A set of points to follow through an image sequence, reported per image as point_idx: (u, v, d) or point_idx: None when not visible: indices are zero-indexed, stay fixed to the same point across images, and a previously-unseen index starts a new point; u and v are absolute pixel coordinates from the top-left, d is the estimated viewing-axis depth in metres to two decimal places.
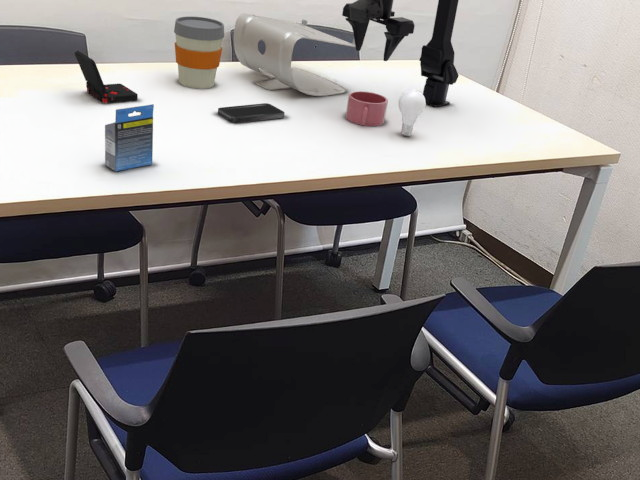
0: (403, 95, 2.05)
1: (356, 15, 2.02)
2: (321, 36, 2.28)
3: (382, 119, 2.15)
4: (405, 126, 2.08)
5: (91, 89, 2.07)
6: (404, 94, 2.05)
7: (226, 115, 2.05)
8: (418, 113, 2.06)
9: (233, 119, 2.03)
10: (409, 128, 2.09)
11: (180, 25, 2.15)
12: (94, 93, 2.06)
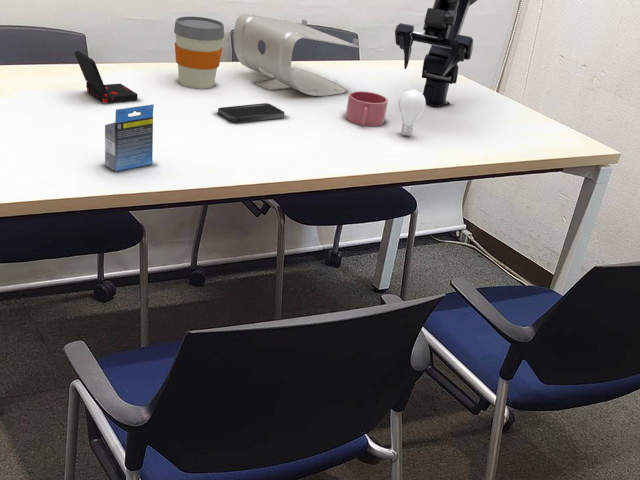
0: (403, 95, 2.05)
1: (436, 16, 2.04)
2: (321, 36, 2.28)
3: (382, 119, 2.15)
4: (405, 126, 2.08)
5: (91, 89, 2.07)
6: (404, 94, 2.05)
7: (226, 115, 2.05)
8: (418, 113, 2.06)
9: (233, 119, 2.03)
10: (409, 128, 2.09)
11: (180, 25, 2.15)
12: (94, 93, 2.06)
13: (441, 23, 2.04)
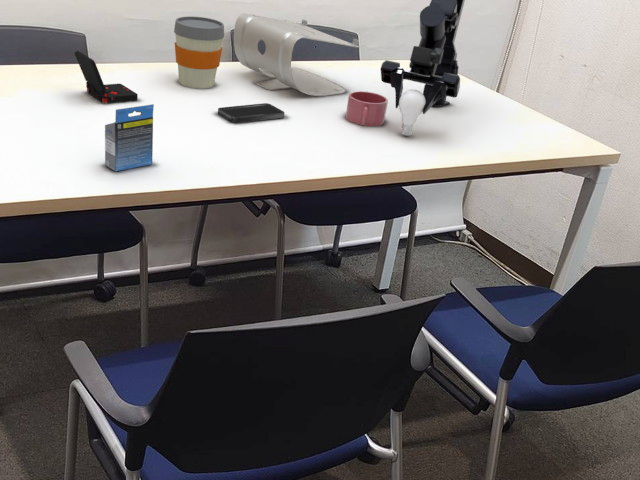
0: (403, 95, 2.05)
1: (422, 54, 2.00)
2: (321, 36, 2.28)
3: (382, 119, 2.15)
4: (405, 126, 2.08)
5: (91, 89, 2.07)
6: (404, 94, 2.05)
7: (226, 115, 2.05)
8: (418, 113, 2.06)
9: (233, 119, 2.03)
10: (409, 128, 2.09)
11: (180, 25, 2.15)
12: (94, 93, 2.06)
13: (427, 61, 2.00)
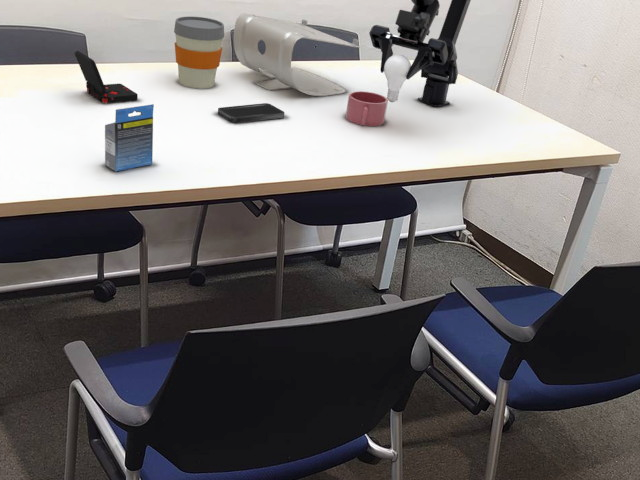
0: (388, 59, 2.04)
1: (407, 18, 1.99)
2: (321, 36, 2.28)
3: (382, 119, 2.15)
4: (390, 91, 2.08)
5: (91, 89, 2.07)
6: (389, 58, 2.04)
7: (226, 115, 2.05)
8: (402, 78, 2.04)
9: (233, 119, 2.03)
10: (394, 94, 2.08)
11: (180, 25, 2.15)
12: (94, 93, 2.06)
13: (411, 25, 1.99)
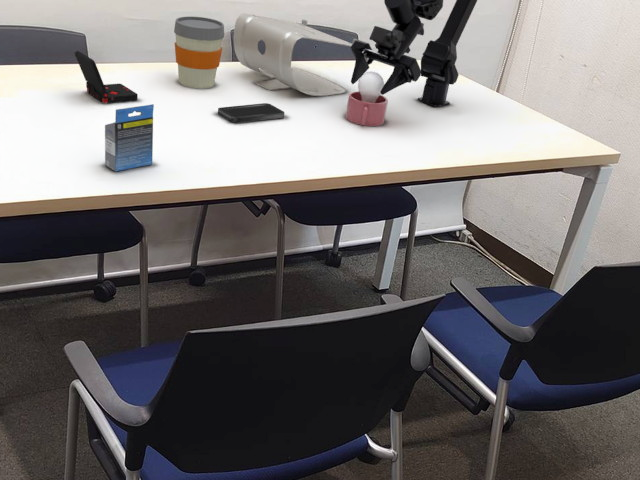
0: (361, 76, 2.12)
1: (379, 34, 2.06)
2: (321, 36, 2.28)
3: (382, 119, 2.15)
4: None
5: (91, 89, 2.07)
6: (362, 75, 2.12)
7: (226, 115, 2.05)
8: (373, 94, 2.12)
9: (233, 119, 2.03)
10: None
11: (180, 25, 2.15)
12: (94, 93, 2.06)
13: (382, 41, 2.06)
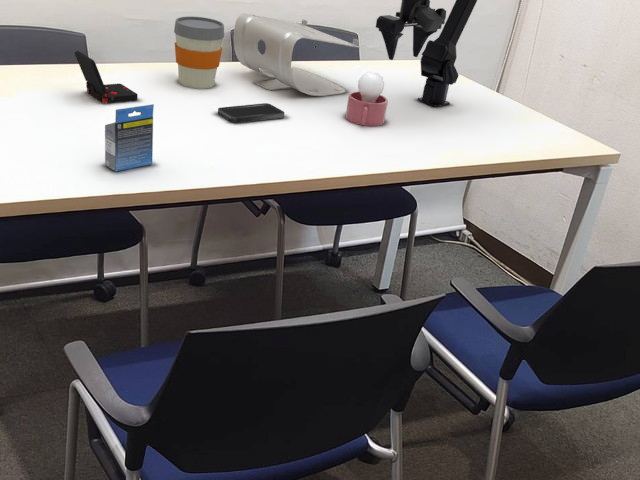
0: (361, 76, 2.12)
1: (435, 25, 2.11)
2: (321, 36, 2.28)
3: (382, 119, 2.15)
4: None
5: (91, 89, 2.07)
6: (362, 75, 2.12)
7: (226, 115, 2.05)
8: (373, 94, 2.12)
9: (233, 119, 2.03)
10: None
11: (180, 25, 2.15)
12: (94, 93, 2.06)
13: (437, 29, 2.13)
